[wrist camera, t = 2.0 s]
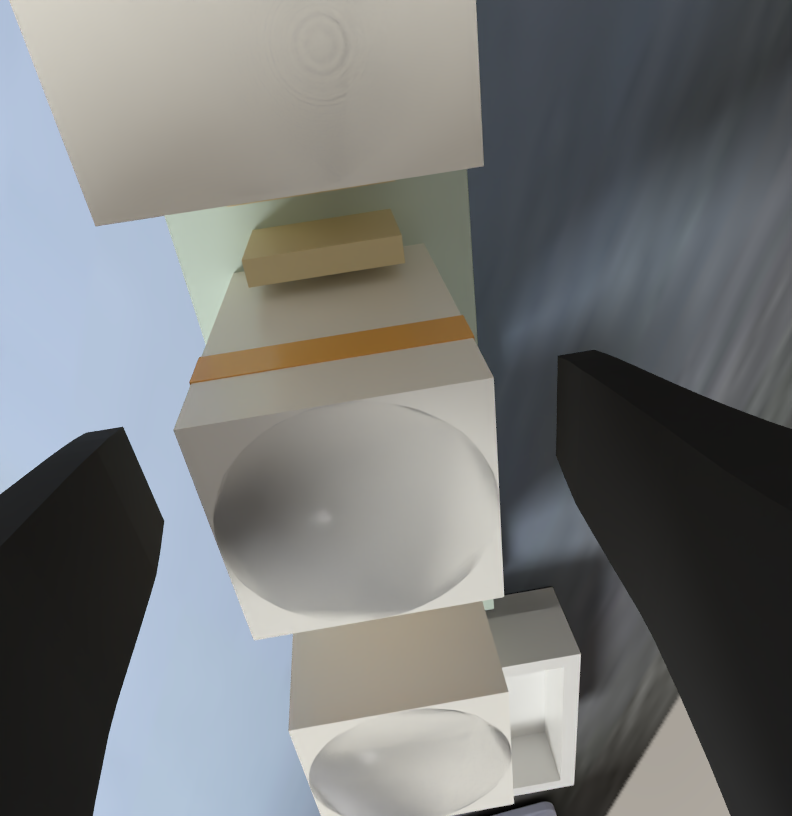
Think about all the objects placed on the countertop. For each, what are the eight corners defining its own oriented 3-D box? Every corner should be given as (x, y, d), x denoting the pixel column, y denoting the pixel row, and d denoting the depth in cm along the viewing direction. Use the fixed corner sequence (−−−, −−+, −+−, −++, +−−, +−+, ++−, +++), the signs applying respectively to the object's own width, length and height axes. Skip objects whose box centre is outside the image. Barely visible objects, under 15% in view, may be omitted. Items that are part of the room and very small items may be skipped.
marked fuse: (441, 405, 15) (505, 598, 10) (276, 433, 15) (252, 640, 10) (424, 242, 13) (495, 375, 8) (231, 272, 13) (170, 428, 7)
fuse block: (484, 579, 20) (511, 665, 17) (302, 610, 20) (299, 702, 17) (426, -254, 10) (467, -370, 7) (52, -203, 10) (-54, -302, 7)
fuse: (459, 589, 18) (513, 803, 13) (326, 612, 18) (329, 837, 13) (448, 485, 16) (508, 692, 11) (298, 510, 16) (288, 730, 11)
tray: (550, 717, 24) (574, 785, 22) (364, 750, 24) (369, 822, 22) (552, 587, 20) (580, 653, 18) (330, 625, 20) (331, 697, 18)
